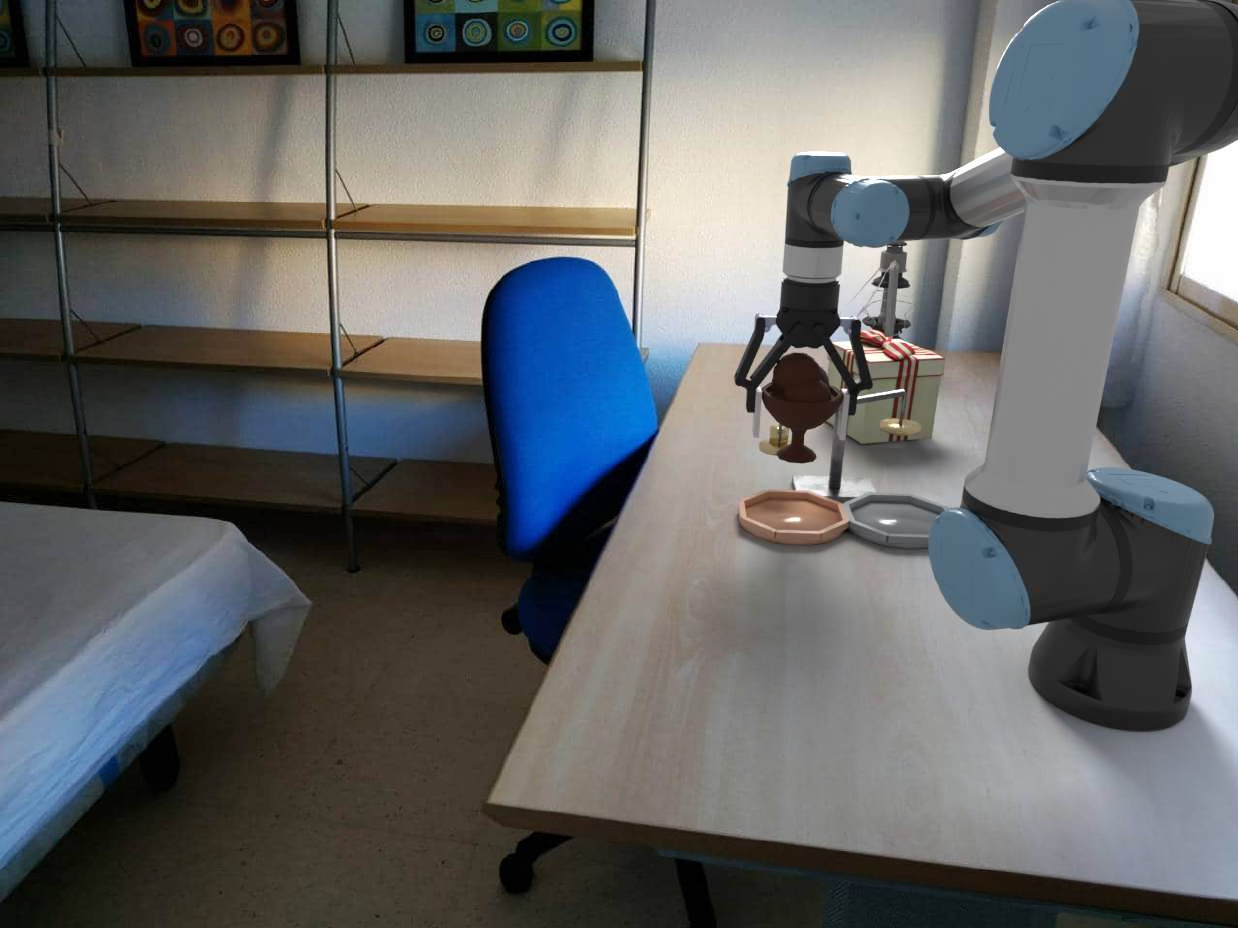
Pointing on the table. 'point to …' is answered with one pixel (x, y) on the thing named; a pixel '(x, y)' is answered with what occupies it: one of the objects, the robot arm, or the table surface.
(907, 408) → the gift box
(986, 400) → the table surface
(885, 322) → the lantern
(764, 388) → the ice cream bowl
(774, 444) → the balance
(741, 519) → the terracotta dish
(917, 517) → the slate dish
